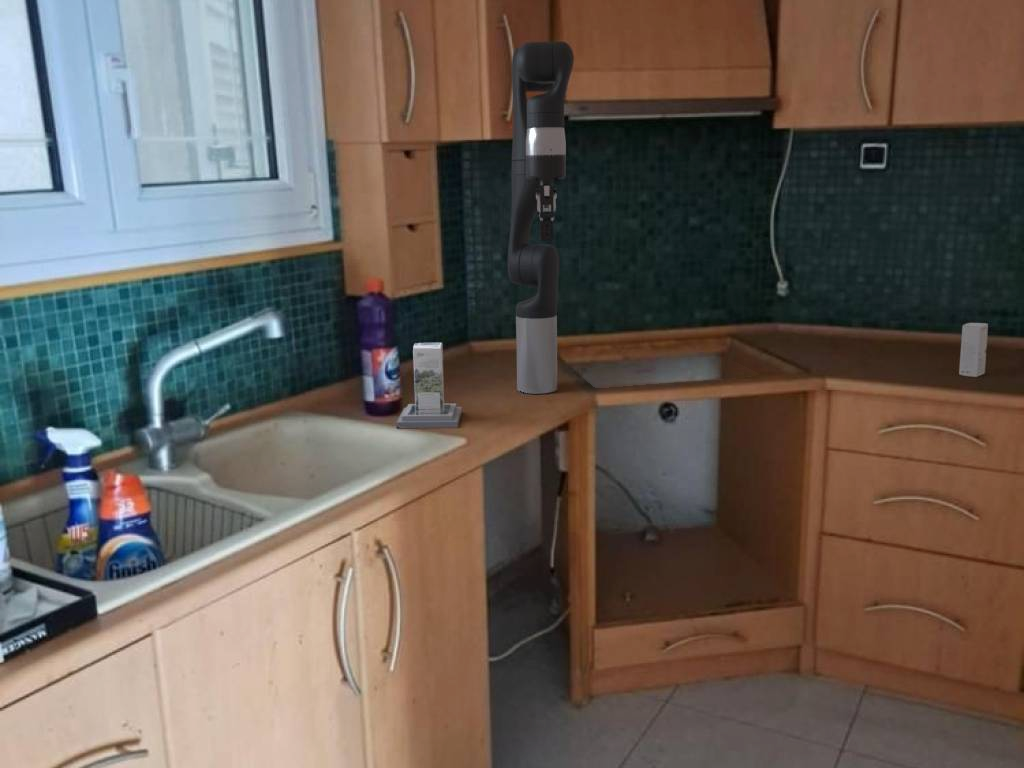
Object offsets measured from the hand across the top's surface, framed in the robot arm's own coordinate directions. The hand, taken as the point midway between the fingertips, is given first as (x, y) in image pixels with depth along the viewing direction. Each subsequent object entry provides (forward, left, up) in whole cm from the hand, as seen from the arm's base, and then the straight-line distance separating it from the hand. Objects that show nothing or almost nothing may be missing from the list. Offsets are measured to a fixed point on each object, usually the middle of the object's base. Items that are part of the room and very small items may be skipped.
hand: (546, 240), depth 180 cm
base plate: (-2, -24, -36) cm, 43 cm away
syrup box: (-2, -24, -35) cm, 43 cm away
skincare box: (-39, +102, -36) cm, 115 cm away
